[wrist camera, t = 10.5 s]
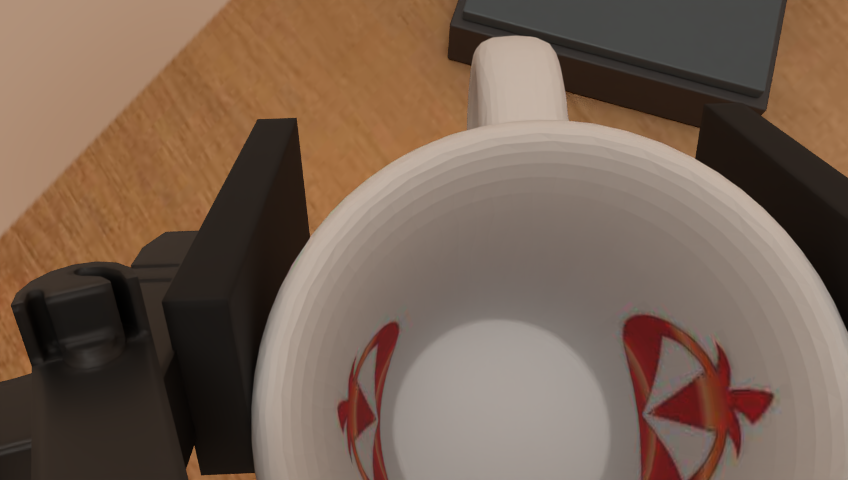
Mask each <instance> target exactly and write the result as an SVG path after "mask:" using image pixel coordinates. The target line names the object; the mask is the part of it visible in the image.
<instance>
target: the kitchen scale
mask: <svg viewBox="0 0 848 480" xmlns="http://www.w3.org/2000/svg"><path fill="white" fill-rule="evenodd" d="M786 2H787V0H458V3H457V6H456V9H455V12H454V14H453V17H452V20H451V23H450V32H449V47H448V58H449V59H452V60H456V61H459V62H463V63H467V64H470V65H472V60H473V55H474V52H475V50H476V48H477V47H478V46H479V45H480V44H481V43H482V42H484V41H486V40H488V39H490V38H493V37H504V36H529V37H536V38H538V39H540V40H543V41H545V42H547V43H549V44H550V45H551V47H552V48H553V50H554V51H555V53H556V55H557V57H558V60H559V64H560V68H561V72H562V77H563V82H564V88H565V91H569V92H573V93H576V94H580V95H584V96H587V97H591V98H595V99H598V100H602V101H606V102H609V103H613V104H617V105H620V106H624V107H628V108H631V109H635V110H639V111H642V112H646V113H650V114H653V115H657V116H661V117H664V118H668V119H672V120H675V121H679V122H683V123H686V124H690V125H694V126H697V127H700V126H701V120H702V113H703V107H704V104H712V103H740V102H742V103H744V104H745V105H746V106H748V107H749V108H751V109H752V110H753V111H755V112H756V113H758V114H759V115H760V116H761V115H762V114H763V113H764V112H765V111H766V109H767V104H768V98H769V93H770V88H771V82H772V77H773V72H774V66H775V61H776V56H777V50H778V45H779V40H780V34H781V29H782V24H783V18H784V13H785V8H786Z"/></svg>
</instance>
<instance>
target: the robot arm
mask: <svg viewBox="0 0 848 480" xmlns="http://www.w3.org/2000/svg"><path fill="white" fill-rule="evenodd" d="M695 159H696V160H698V161H700V162H701V163H703V164H705V165H706V166H708V167H710V168H711V169H713V170H715V171H716V172H718V173H719V174H721V175H722V176H724V177H725V178H726V179H728V180H729V181H730V182H732V183H733V184H735V185H736V186H737V187H739V188H740V189H742V190H743V191H744V192H745V193H746V194H747V195H749V196H750V197H751V198H752V199H753V200H754V201H756V202H757V203H758V204H759V205H760V206H761V207H763V208H764V209H765V210H766V211H767V212H768V214H769V215H770V216H771V217H772V218H773V219H774V220H775V221H776V222H777V223H778V224H779V225H780V226H781V227H782V228H783V229H784V230H785V231H786V232H787V234H788V235H789V236H790V237H791V238H792V240H793V241H794V242H795V243H796V244H797V246H798V247H799V248H800V249H801V250H802V252H803V253H804V255H805V256H806V258H807V259H808V260H809V262H810V263H811V265H812V266H813V268H814V269H815V271H816V272H817V273H818V275H819V276H820V278H821V280H822V282H823V283H824V285H825V287H826V289H827V290H828V292H829V294H830V296H831V297H832V299H833V301H834V303H835V305H836V307H837V310H838V312H839V314H840V316H841V318H842V321H843V323H844V325H845V327H846V329H847V332H848V178H847V177H846V176H844V175H843V174H841V173H840V172H839V171H837V170H836V169H834V168H833V167H832V166H830V165H829V164H827V163H826V162H825V161H823V160H822V159H820V158H819V157H818V156H816V155H815V154H813V153H812V152H811V151H809V150H808V149H806V148H805V147H804V146H802V145H801V144H800V143H798V142H797V141H795V140H794V139H793V138H791V137H790V136H788V135H787V134H786V133H784V132H783V131H781V130H780V129H779V128H777V127H776V126H774V125H773V124H772V123H770V122H769V121H767V120H766V119H765V118H763V117H762V116H760V115H759V114H758V113H756V112H755V111H753V110H752V109H751V108H749V107H748V106H746V105H745V104H744V103H742V102H740V103H712V104H704V107H703V113H702V120H701V126H700V132H699V139H698V145H697V151H696V157H695ZM309 239H310V233H309V224H308V215H307V206H306V198H305V189H304V180H303V171H302V162H301V153H300V144H299V135H298V126H297V118H283V119H258V120H257V122H256V124H255V125H254V127H253V129H252V131H251V133H250V135H249V137H248V139H247V141H246V142H245V144H244V146H243V148H242V150H241V152H240V154H239V156H238V158H237V160H236V161H235V163H234V165H233V167H232V169H231V171H230V173H229V175H228V177H227V178H226V180H225V182H224V184H223V186H222V188H221V190H220V192H219V194H218V196H217V197H216V199H215V201H214V203H213V205H212V207H211V209H210V211H209V213H208V214H207V216H206V218H205V220H204V222H203V224H202V226H201V228H200V230H199V231H178V232H165V233H163V234H162V235H160V236H159V237H157V238H156V239H154V240H153V241H152V242H150V243H149V244H147V245H146V246H144V247H143V248H142V249H141V251H140V252H139V254H138V256H137V257H136V259H135V260H134V262H133V263H132V265H131V268H130V267H128V266H125V265H122V264H119V263H114V262H90V263H82V264H75V265H71V266H68V267H64V268H61V269H58V270H54V271H51V272H49V273H47V274H45V275H43V276H41V277H39V278H37V279H35V280H33V281H31V282H29V283H28V284H27V285H26V286H25V287H23V288H22V289H21V290H20V291H19V292H18V293H16V295H15V298H14V300H13V302H12V304H11V307H12V310H13V313H14V316H15V319H16V322H17V325H18V328H19V330H20V333H21V336H22V339H23V342H24V345H25V348H26V351H27V354H28V357H29V359H30V362H31V365H32V373H31V374H28V375H24V376H21V377H18V378H14V379H11V380H6V381H2V382H0V480H188V476H187V472H186V467H187V465H188V462H189V459H190V456H191V453H192V450H193V447H194V446H195V450H196V454H197V459H198V463H199V467H200V472H201V475H217V474H240V473H255V468H254V459H253V449H252V429H251V404H252V394H253V383H254V374H255V368H256V363H257V358H258V353H259V348H260V343H261V340H262V337H263V333H264V330H265V326H266V323H267V320H268V316H269V314H270V311H271V309H272V306H273V304H274V301H275V299H276V296H277V294H278V291H279V289H280V287H281V285H282V283H283V281H284V279H285V278H286V276H287V274H288V272H289V270H290V268H291V266H292V264H293V263H294V261H295V260H296V258H297V257H298V255H299V254H300V252H301V251H302V249H303V248H304V246H305V245H306V243H307V242H308V240H309Z"/></svg>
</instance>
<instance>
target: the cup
mask: <svg viewBox="0 0 848 480" xmlns="http://www.w3.org/2000/svg"><path fill="white" fill-rule="evenodd" d="M251 429H252V449H253V459H254V468H255V474H256V479H257V480H848V332H847V329H846V327H845V325H844V323H843V321H842V318H841V316H840V314H839V312H838V310H837V307H836V305H835V303H834V301H833V299H832V297H831V296H830V294H829V292H828V290H827V289H826V287H825V285H824V283H823V282H822V280H821V278H820V276H819V275H818V273H817V272H816V271H815V269H814V268H813V266H812V265H811V263H810V262H809V260H808V259H807V258H806V256H805V255H804V253H803V252H802V250H801V249H800V248H799V247H798V246H797V244H796V243H795V242H794V241H793V240H792V238H791V237H790V236H789V235H788V234H787V232H786V231H785V230H784V229H783V228H782V227H781V226H780V225H779V224H778V223H777V222H776V221H775V220H774V219H773V218H772V217H771V216H770V215H769V214H768V212H767V211H766V210H765V209H764V208H763V207H761V206H760V205H759V204H758V203H757V202H756V201H754V200H753V199H752V198H751V197H750V196H749V195H747V194H746V193H745V192H744V191H743V190H742V189H740V188H739V187H737V186H736V185H735V184H733V183H732V182H730V181H729V180H728V179H726V178H725V177H724V176H722V175H721V174H719V173H718V172H716V171H715V170H713V169H711V168H710V167H708V166H706V165H705V164H703V163H701V162H700V161H698V160H696V159H695V158H693V157H690V156H688V155H686V154H684V153H682V152H680V151H678V150H676V149H674V148H672V147H670V146H667V145H665V144H663V143H661V142H658V141H655V140H652V139H649V138H646V137H643V136H640V135H637V134H634V133H631V132H628V131H625V130H620V129H616V128H611V127H606V126H602V125H597V124H592V123H583V122H574V121H569V119H568V112H567V102H566V94H565V88H564V82H563V77H562V72H561V68H560V64H559V60H558V57H557V55H556V53H555V51H554V50H553V48H552V47H551V45H550V44H549V43H547V42H545V41H543V40H540V39H538V38H536V37H529V36H504V37H493V38H490V39H488V40H486V41H484V42H482V43H481V44H480V45H479V46H478V47H477V48H476V50H475V52H474V55H473V60H472V65H471V72H470V83H469V94H468V113H467V131H463V132H459V133H455V134H452V135H449V136H446V137H444V138H441V139H439V140H436V141H434V142H431V143H429V144H427V145H424V146H422V147H420V148H417V149H415V150H413V151H412V152H410V153H408V154H406V155H404V156H402V157H400V158H399V159H397V160H395V161H393V162H391V163H390V164H389V165H387V166H386V167H384V168H383V169H381V170H380V171H378V172H377V173H375V174H374V175H372V176H371V177H370V178H368V179H367V180H366V181H364V182H363V183H362V184H361V185H360V186H359V187H357V188H356V189H355V190H354V191H353V192H351V193H350V194H349V195H348V196H347V197H345V198H344V199H343V200H342V201H341V203H340V204H339V205H338V206H337V207H336V208H335V209H334V210H333V211H332V212H331V213H330V214H329V215H328V216H327V218H326V219H325V220H324V221H323V222H322V223H321V225H320V226H319V227H318V228H317V229H316V231H315V232H314V233H313V234H312V236H311V237H310V239H309V240H308V242H307V243H306V245H305V246H304V248H303V249H302V251H301V252H300V254H299V255H298V257H297V258H296V260H295V261H294V263H293V264H292V266H291V268H290V270H289V272H288V274H287V276H286V278H285V279H284V281H283V283H282V285H281V287H280V289H279V291H278V294H277V296H276V299H275V301H274V304H273V306H272V309H271V311H270V314H269V316H268V320H267V323H266V326H265V330H264V333H263V337H262V340H261V343H260V348H259V353H258V358H257V363H256V368H255V374H254V383H253V394H252V404H251Z"/></svg>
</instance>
